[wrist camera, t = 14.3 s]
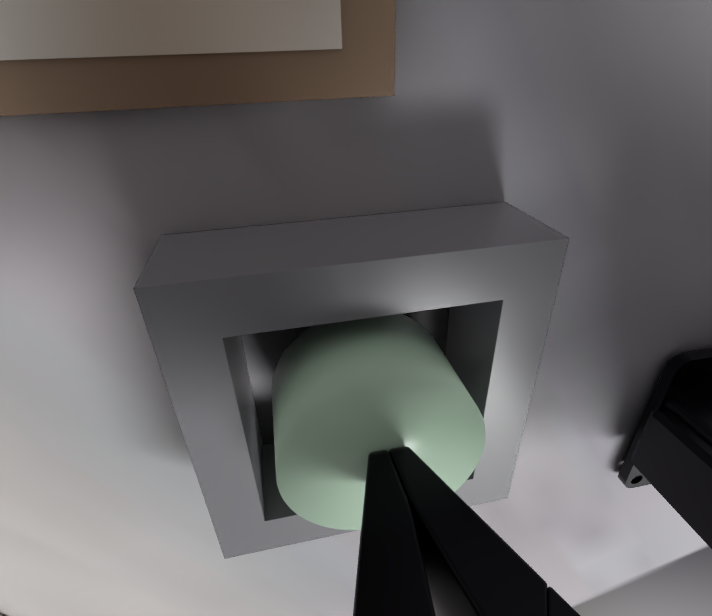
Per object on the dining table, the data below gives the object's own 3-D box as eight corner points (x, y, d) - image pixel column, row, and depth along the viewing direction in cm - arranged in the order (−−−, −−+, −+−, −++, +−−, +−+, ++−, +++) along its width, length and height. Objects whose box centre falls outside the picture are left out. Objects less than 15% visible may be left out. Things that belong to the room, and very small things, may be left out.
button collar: (505, 202, 10) (569, 238, 8) (470, 434, 14) (507, 497, 12) (161, 235, 9) (133, 288, 7) (229, 478, 13) (224, 558, 11)
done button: (448, 297, 10) (499, 361, 8) (435, 430, 12) (473, 507, 10) (259, 322, 9) (260, 400, 7) (283, 458, 12) (288, 547, 10)
